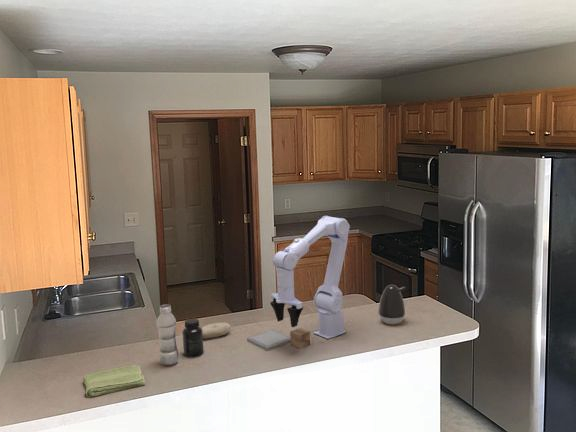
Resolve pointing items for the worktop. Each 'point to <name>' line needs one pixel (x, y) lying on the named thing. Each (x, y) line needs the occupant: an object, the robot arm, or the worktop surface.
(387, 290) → the pump dispenser
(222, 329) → the stone
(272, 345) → the grey framed panel
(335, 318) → the robot arm
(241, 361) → the worktop surface
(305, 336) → the cube
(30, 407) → the worktop surface
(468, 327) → the worktop surface
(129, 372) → the washcloth
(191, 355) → the supplement bottle
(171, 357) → the plastic bottle
